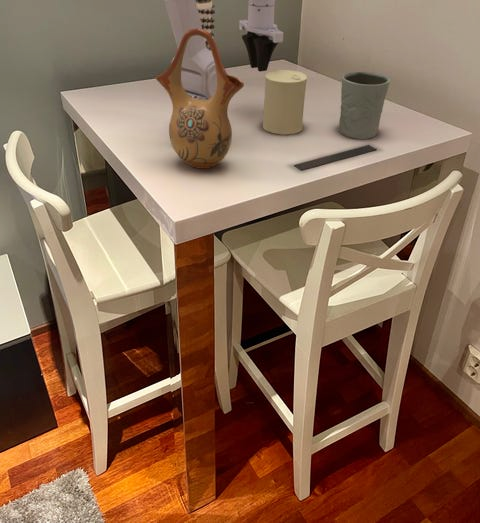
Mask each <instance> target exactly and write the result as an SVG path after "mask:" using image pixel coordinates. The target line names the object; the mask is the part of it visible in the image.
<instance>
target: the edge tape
mask: <svg viewBox="0 0 480 523" xmlns="http://www.w3.org/2000/svg"><path fill="white" fill-rule="evenodd" d="M377 150H378V148H376V147H374V146H371V145H370V144H367V145H363V146H360V147H356V148H352V149H348V150H344V151H341V152H337V153H334V154H330V155H326V156H325V155H324V156H321V157H318V158H314V159H311V160H307V161H304V162H300V163H296V164H293V167H295V168H296V169H298V170H299V171H306V170H309V169H312V168H317V167H320V166H325V165H327V164H331V163H335V162H338V161H342V160H345V159H349V158H353V157H357V156H360V155H363V154H367V153H371V152H374V151H377Z"/></svg>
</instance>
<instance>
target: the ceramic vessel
mask: <svg viewBox="0 0 480 523" xmlns="http://www.w3.org/2000/svg"><path fill="white" fill-rule="evenodd" d="M196 35H198V36H202V37H204V38H205V39H206V40H207V42H208V44H209V46H210V49H211V52H212V55H213V58H214V62H215V67H216V74H217V89H216V92H215V94H214V95H213V96H212V97H211V98H210V99H208V100H200V99H195V98H193V97H191V96H190V95H188V94H187V93H186V91H185V90H184V88H183V86H182V83H181V68H182V61H183V56H184V52H185V48H186V45H187V42H188V40H189V39H190V37H192V36H196ZM174 57H175V58H174ZM174 57H173V59H174V60H173V59H172V60H173V62H172V61H171V62H172V63H171V62H170V65H169V67H168V68H167V69H166V71H164V72H161V73H160V74H158V75H156V76H155V77H154V78H155V80H156V81H157V82H158V83H159V84H160V85H161V86H162V87H163V88H164V90H165V91H166V93H167V94H168V96H169V98H170V102H171V104H172V113H171V117H170V119H169V125H168V135H169V139H170V140H169V141H170V144H171V147H172V148H173V150H174V152H175V153H176V155H177V156H178V158H180V159H181V160H182V162H184V163H185V164H187V166H189V167H192V168H196V169H211V168H213V167H215V166H216V165H218V164H219V163H221V162H222V161H223V160H224V158H225V157H226V156H227V155H228V153H229V151H230V149H231V145H232V140H233V130H232V124H231V121H230V119H229V115H228V109H229V108H228V107H229V104H230V101H231V100H232V99H233V97H234V96H235V95H236V94H237V93H238V92H239V91H240V90H242V89H243V88H244V86H245V84H244V82H243V81H242V80H241V79H240V78H238V77H236V76H233V75H230V74H228V73H227V70H226V69H225V67H224V64H223V62H222V59H221V56H220V52H219V49H218V46H217V44H216V41H215V39H214V36H213V37H212V36H211V35H210V34H209V33H208V32H206V31H205V30H202V29H199V28H196V29H191V30H189V31H187V32H186V33H185V34H184V36H183V38H182V40H181V43H180V45H179V48H178V49H177V51H176V53H175V55H174Z"/></svg>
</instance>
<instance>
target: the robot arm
mask: <svg viewBox="0 0 480 523" xmlns="http://www.w3.org/2000/svg"><path fill="white" fill-rule="evenodd" d="M163 1H164V5H165V8H166V12H167V15H168V20H169V23H170V27H171V30H172V33H173V38H174V41H175V44H176V48H177V50H178V48H179V45H180V43H181V40H182V38H183V36H184V34H185V33H186V32H187V31H189V30H191V29H196V28H199V29H202V26H201V22H200V17H199V13H198V8H197V4H196V0H163ZM247 1H248V5H247V19H241V20H239V28H238V29H239V30H240V31H246V34H242V35H241V39H242V40H243V41H242V42H243V44H244V45H245V48H246V51H247V55H248V61H249V65H250V68H251V69H257V71H258V72H266V71H268V68H269V66H270V61H271V58H272V55H273V53H274V51H275V49H276V47H277V46H278V44H279V43H283V42H284V32H283V31H281V30H280V29H279V28H278V24H275V9H276V8H275V4H276V0H247ZM174 58H175V56H174V57H173V59H172V60H171V62H170V64H171V63H172V62H173V60H174ZM181 83H182V86H183V88H184V90H185V91H186V93H187V94H188V95H190V96H191V97H193V98H195V99H200V100H208V99H210V98H211V97H212V96H213V95H214V94H215V92H216V89H217V74H216V67H215V62H214V58H213V55H212V53H211V52H210V51H209V50H208V49H207V47H206V43H205V39H204V37H202V36H198V35H196V36H192V37H190V39H189V40H188V42H187V45H186V48H185V52H184V56H183V61H182V68H181Z"/></svg>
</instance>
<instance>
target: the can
mask: <svg viewBox="0 0 480 523" xmlns="http://www.w3.org/2000/svg"><path fill="white" fill-rule="evenodd" d="M307 80H308V76H307V75H306V74H305V73H303V72H301V71H297V70H291V69H276V70H270V71H268V72H267V73H265V74H264V99H263V100H264V101H263V102H264V103H263V118H262V119H263V120H262V126H261V127H262V128H263V130H264V131H266V132H268V133H270V134H273V135H282V136H283V135H285V136H286V135H294V134H298V133H300V132H301V131H302V130H303V128H304V126H303V123H304V122H303V119H304V109H305V99H306V89H307Z"/></svg>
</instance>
